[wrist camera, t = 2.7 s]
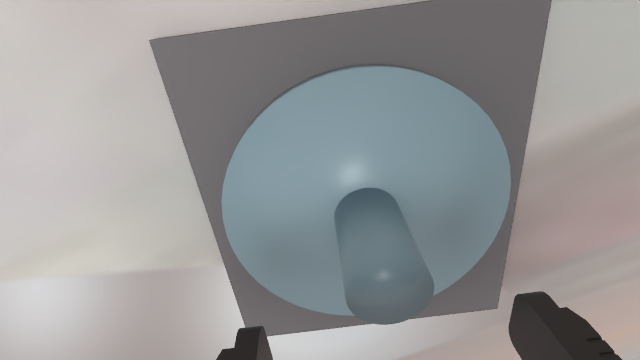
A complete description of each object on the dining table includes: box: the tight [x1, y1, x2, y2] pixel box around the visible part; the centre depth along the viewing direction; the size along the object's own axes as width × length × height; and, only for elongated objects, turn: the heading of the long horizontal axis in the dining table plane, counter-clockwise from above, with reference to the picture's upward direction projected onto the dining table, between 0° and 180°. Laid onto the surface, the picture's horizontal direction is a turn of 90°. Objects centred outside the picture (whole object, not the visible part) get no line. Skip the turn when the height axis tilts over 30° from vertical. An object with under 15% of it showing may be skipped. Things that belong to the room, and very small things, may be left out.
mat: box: [149, 0, 552, 336], centre depth 18 cm, size 16×18×1 cm
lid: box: [221, 64, 511, 324], centre depth 15 cm, size 14×14×6 cm
